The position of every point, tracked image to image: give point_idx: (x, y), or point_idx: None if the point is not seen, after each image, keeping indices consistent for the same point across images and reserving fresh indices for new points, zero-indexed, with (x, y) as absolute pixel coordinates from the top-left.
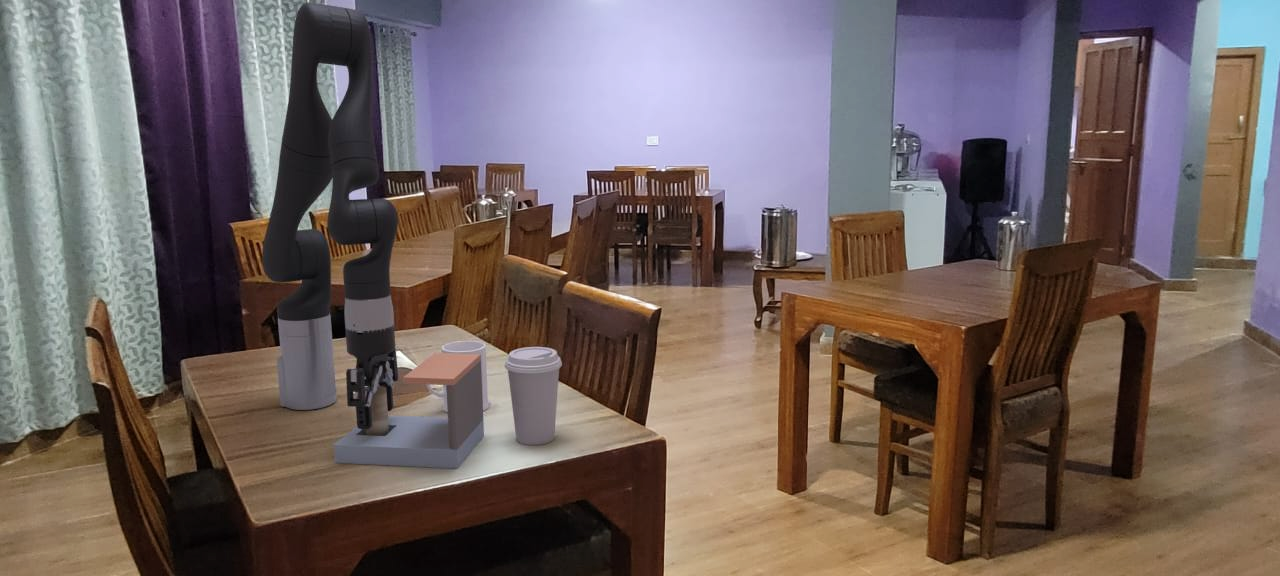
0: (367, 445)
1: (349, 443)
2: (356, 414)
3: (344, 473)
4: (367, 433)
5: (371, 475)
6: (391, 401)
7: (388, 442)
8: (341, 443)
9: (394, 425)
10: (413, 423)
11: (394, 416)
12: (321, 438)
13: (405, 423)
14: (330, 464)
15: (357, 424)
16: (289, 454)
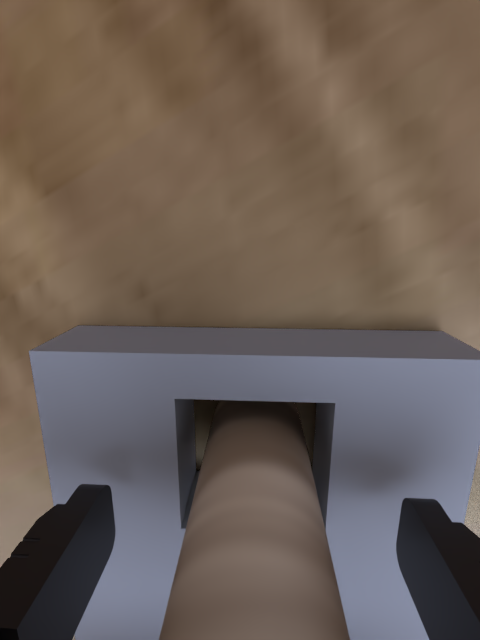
0: (61, 497)
1: (62, 415)
2: (30, 555)
3: (4, 398)
4: (213, 439)
5: (15, 486)
6: (424, 624)
7: (112, 562)
8: (53, 380)
9: (326, 521)
10: (351, 591)
11: (456, 486)
12: (342, 118)
13: (350, 561)
14: (62, 313)
15: (72, 497)
16: (121, 60)
